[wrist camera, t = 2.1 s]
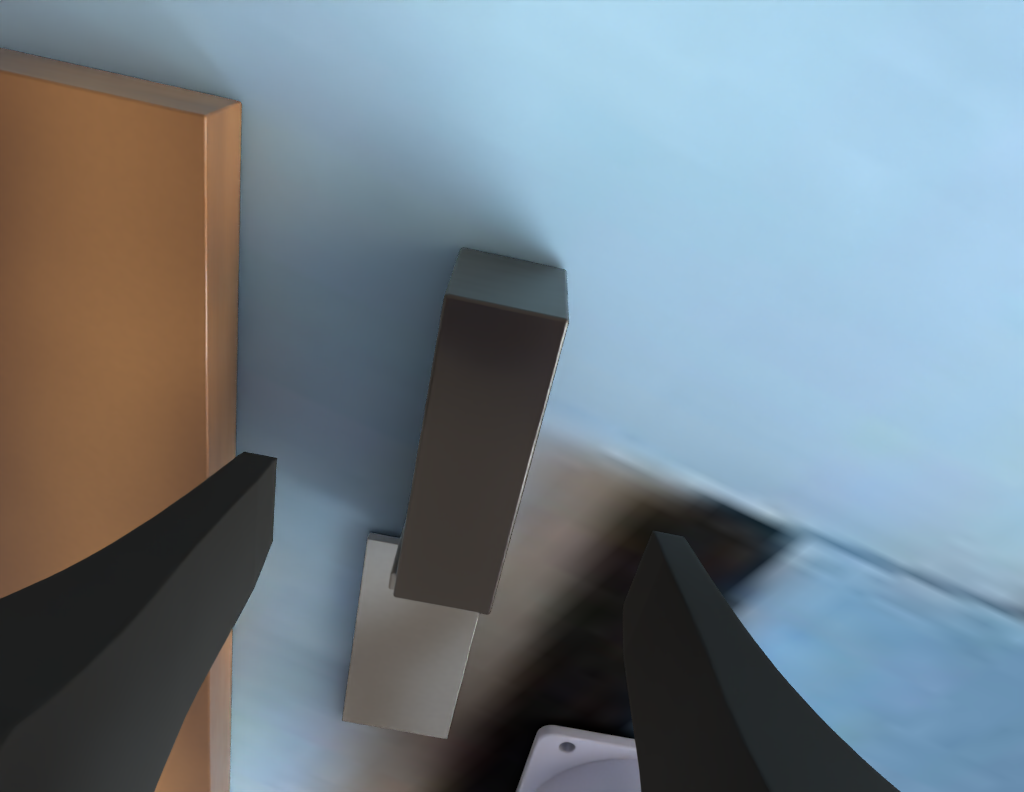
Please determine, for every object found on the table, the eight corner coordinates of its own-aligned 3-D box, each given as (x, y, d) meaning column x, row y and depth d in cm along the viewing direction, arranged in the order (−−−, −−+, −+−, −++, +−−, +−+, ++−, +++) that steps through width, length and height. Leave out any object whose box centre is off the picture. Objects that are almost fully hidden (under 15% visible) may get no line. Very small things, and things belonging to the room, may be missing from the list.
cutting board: (243, 101, 15) (206, 115, 13) (230, 818, 28) (210, 869, 26) (-330, -28, 14) (-440, -28, 12) (-69, 769, 27) (-107, 818, 25)
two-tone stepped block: (567, 268, 16) (570, 320, 14) (448, 731, 24) (436, 815, 22) (411, 234, 16) (385, 281, 13) (343, 713, 24) (320, 795, 22)
